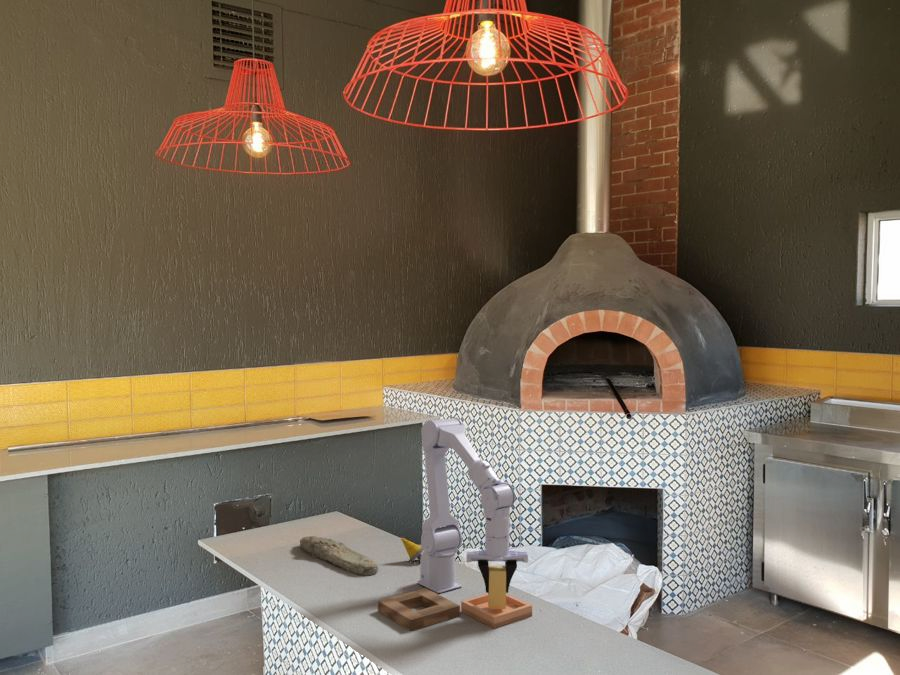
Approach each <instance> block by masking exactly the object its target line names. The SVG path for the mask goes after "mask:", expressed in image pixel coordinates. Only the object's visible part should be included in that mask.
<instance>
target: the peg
mask: <svg viewBox="0 0 900 675" xmlns="http://www.w3.org/2000/svg"><path fill="white" fill-rule="evenodd" d="M488 580H489V593H487V594H488V607H489V609H506V594H507V593H506V568H505V565H490V564H489V579H488Z"/></svg>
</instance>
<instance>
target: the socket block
mask: <svg viewBox="0 0 900 675" xmlns="http://www.w3.org/2000/svg"><path fill="white" fill-rule="evenodd" d="M418 607H424V608H422V609H419V610H413V609H415V608H418ZM377 612H379V613H381V614H382V615H384V616H386V617H387V618H389V619H391V620H392V621H394V622H396V623H397V624H399V625H400V626H402V627H404V628H406V629H407V630H408V631H410V632H413V631H415V630H420V629H422V628H425V627H430V626H433V625H436V624H440V623H442V622H445V621H448V620H452V619H455V618H459V617H460V616H461V604H458V603H455V602H453V601H452V600H449V599H447V598H445V597H444V596H442V595H440V594H439V593H436V592H434V591H432V590H430V589H428V588H427V587H424V588H421V589H417V590H413V591H409V592H406V593H401V594H398V595H395V596H390V597H386V598H383V599H380V600H378V601H377Z"/></svg>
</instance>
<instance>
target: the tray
mask: <svg viewBox="0 0 900 675" xmlns="http://www.w3.org/2000/svg"><path fill="white" fill-rule="evenodd" d="M461 612H462V613H464V614H465V615H467V616H469V617H471V618H473V619H475V620H477V621H479V622H480V623H483V624H485V625H487V626H488V627H490V628H492V629H497V628H499V627H503V626H505V625H508V624H511V623H515V622H518V621H520V620H523V619H526V618H530V617H532V616H533V605H532V604H530V603H528V602H526V601H524V600H521V599H519V598H517V597H515V596H512V595H510V594H508V593H506V609H489V607H488V593H483V594H481V595H478V596H474V597H470V598H468V599H464V600H461V602H460V613H461Z"/></svg>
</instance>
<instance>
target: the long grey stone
mask: <svg viewBox="0 0 900 675" xmlns="http://www.w3.org/2000/svg"><path fill="white" fill-rule="evenodd" d="M299 548H302V549H303V550H304V551H305V552H306V553H307V554H309V555H311V557H314V558H319V559H321V560H324V561H327V562H329V563H331V564H332V565H334V566H338V567H341V568H342V569H344V571H345V570H346V571H348V572H349V573H352V574H358V575H360V576H372V575H376V574H377V573H378V572H379V568H378V564H377V562H376V561H375V560H374V559H372V558H371V557H367V556H366V555H364V554H361V553H359V552H357V551H354V550H352V549H351V548H350V547H348V546H347V545H346V544H344V543H343V542H340V541H337V540H333V539H332V538H329V539H328V538H325V537H320V536H315V535H308V536H303V537H301V539H299Z"/></svg>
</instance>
